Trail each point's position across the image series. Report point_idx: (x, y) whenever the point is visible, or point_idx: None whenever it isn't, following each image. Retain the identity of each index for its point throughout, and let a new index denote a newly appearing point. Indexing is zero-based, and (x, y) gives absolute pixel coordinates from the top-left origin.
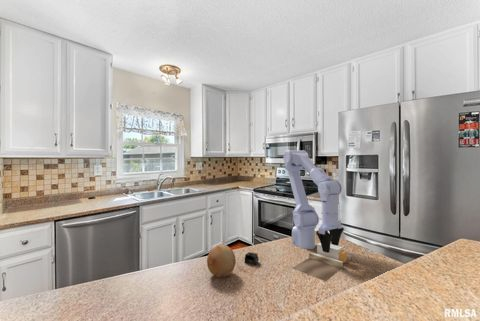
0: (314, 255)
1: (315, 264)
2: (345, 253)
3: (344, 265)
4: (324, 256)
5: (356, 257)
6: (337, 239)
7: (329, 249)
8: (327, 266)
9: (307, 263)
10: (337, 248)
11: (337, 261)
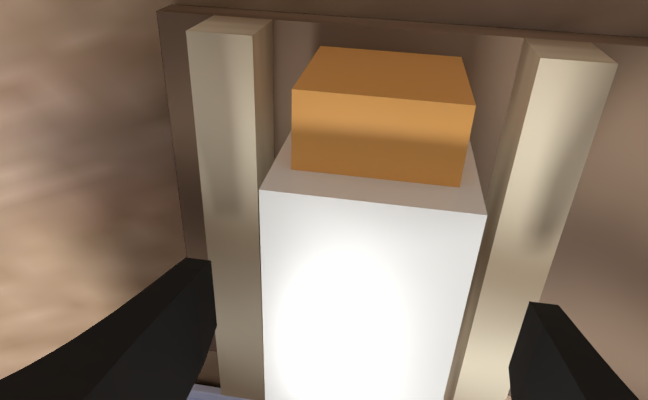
0: (507, 383)
1: (631, 310)
2: (365, 86)
3: (459, 34)
4: (487, 300)
5: (7, 3)
6: (148, 351)
7: (561, 333)
8: (618, 198)
9: (646, 372)
10: (406, 243)
11: (578, 125)
